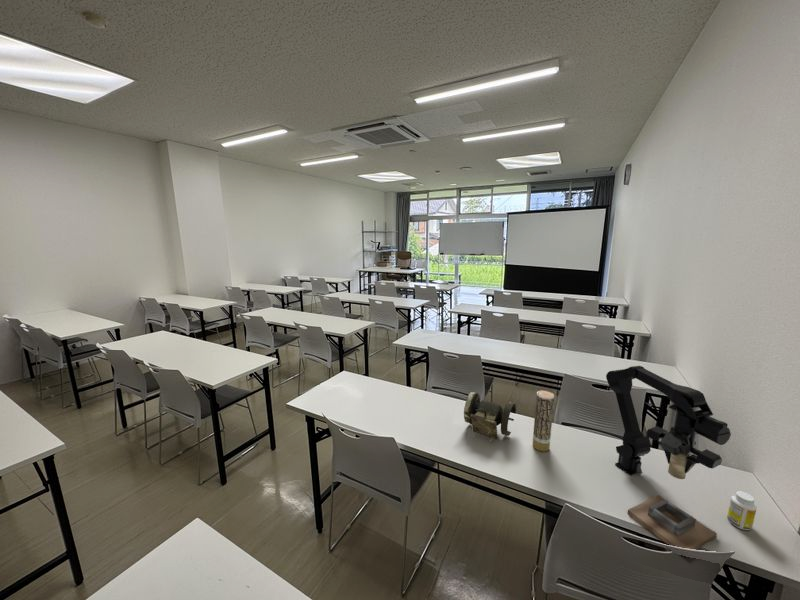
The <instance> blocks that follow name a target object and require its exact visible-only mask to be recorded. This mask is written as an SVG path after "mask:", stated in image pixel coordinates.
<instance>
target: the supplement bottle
mask: <svg viewBox="0 0 800 600" xmlns="http://www.w3.org/2000/svg"><path fill="white" fill-rule="evenodd" d="M729 501H730V502H729V506H728V511H727V514H726V515H727V516H726V518H727V521H728V522H730V524H732V526H735V527H736V528H738V529H741V530H743V531H751V530H752V528H753V526H754V523H755V516H756V512H757V505H756V504H755V498H754V497H753V496H752V495H750V494H749V493H747V492H745V491H740V490H739V491H738V490H737V491H736V492H735V495H732V496H731V497H730V500H729Z"/></svg>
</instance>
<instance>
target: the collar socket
mask: <svg viewBox="0 0 800 600" xmlns="http://www.w3.org/2000/svg"><path fill="white" fill-rule="evenodd" d="M627 514H628V515H629V516H630V517H631V518H632V519H634V520H635V521H637V522H638V523H639V524H641V525H642V526H643V527H644V528H645V529H647V530H648V531H649V532H651V533H652V534H654V535H655V536H656V537H657V538H658V539H660V540H661V541H663V542H664V543H666V544H667V545H668V544H669V545H673V546H677V547H682V548H690V549H697V550H699V549H700V548H702V547H704V546H705V545H706V544H708V543H710V542H712V541H713V540H714V539H716V538H717V536H718V533H716V532H715V531H714V530H712V529H711V528H709V527H708V526H706V525H705V524H703V523H702V522H700V521H699V520H697V519H696V518H695V517H694V516H693V515H690V514H689V513H688V512H685V511H684V510H682V509H681V507H680V508H679V507H678V506H677V505H675V504H674V503H672V502H671V501H669V500H668V499H666V498H664V497H662V496H660V495H658V494H657V495H656V496H653V497H651V498H650V499H647V500H645V501H643V502H642V503H639V504H637V505H635V506H633V507H631V508H629V509H627ZM669 545H668V546H669Z"/></svg>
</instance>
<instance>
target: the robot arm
mask: <svg viewBox="0 0 800 600" xmlns="http://www.w3.org/2000/svg"><path fill="white" fill-rule="evenodd" d="M605 377H606V378H605V379H606V381H607V384H608V386H609V387H610V389H611V390H612V391H613V392H614V394H615V397H616V401H617V405H618V409H619V412H620V416H621V420H622V424H623V429H624V432H623V436H622V439H621V440H622V445H617V446H615V451H616V453H617V454H618V460H617V462H615V464H614V465H615V466H617V467H618V468H619V469H621V470H622V471H624V472H625V473H627V474H629V475H630V476H632V475H633V476H634V475H636V474H638V473H640V472H642V471H643V469H642V464H643V463H642V457H644V456H645V455H647V454H649V453H650V452H651V448H652V444H651V442H650V439H651V440H653V441H656V443H657V444H658V445H660V447H661V449H662V450H663V451H664V455H665V457H666V461H667V464H668V465H669V463H670V457H671V453H672V454H673V455H679V454H684V455H687V454H688V453H690V455H689V457H687V464H686V467H685V473H686V474H687V473H689V472H690V471H691V470H692V469H693V467H694V466H696V464H698V465H699V464H701V465H703V466H705V467H706V468H708V469H715V468H717V467H719V466H720V465H722V462H723V458H722V457H721V454H718V453H715V452H713V451H711V450H709V449H704V450H701V449H699V448H696V447H694V446H696V444H697V441H696V436H697V435H699V436H702V437H703V438H706V439H707V440H709V441H712V442H714V444H715V443H716V444H717V445H720V446H723V445H725V444H726V443H728V441H729V440H730V438H731V434H732V432H731V430H730V429H731V428H729V427H728V423H726V422H725V421H722V420H718V419H717V418H714V417H712V416H714V413H713V411H712V410H711V408H710V405H709V404H708V402H707V400H706V397H705V394H704V393H703V392H701V391H700V390H698V389H695V388H692V387H689V386H684V385H680V384H676V383H674V382H673V381H669V380H668V379H666V378H664V377H662V376H660V375H658V374H656V373H654V372H652V371H650V370H648V369H647V368H645V367H643V366H642V365H633V366H629V367H627V368H624V369H623V368H622V369H615V370H610V371H607V373H606V374H605ZM635 379H636V380H639V381H640V382H642V383H644V384H645V385H647V386H649V387H650V388H652V389H654V390H656V391H658V392H660V393H662V394H664V396H667V398H668V400H670V402H671V403H673V404H671V405H669V406H668V408H669V409H671V410H673V411H675V414H674V420H673V426H672V427H670V429H669V431H668V430H666V429H664V428H662V427H660V426H658V425H656V426H654V427H653V426H652V427H651V428H648V429H647V430H646V433H645V434H643V432H642V431H641V430H640V426H639V422H638V418H637V414H636V410H635V406H634V403H633V399H632V394H631V391H632V387H633V380H635ZM695 409H698V410H695Z"/></svg>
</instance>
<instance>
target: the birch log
mask: <svg viewBox="0 0 800 600" xmlns="http://www.w3.org/2000/svg"><path fill="white" fill-rule="evenodd" d="M554 405H555V394H554V393H553V392H550V391H549V390H538V391H537V392H536V399H535V407H534V408H535V411H534V422H533V423H534V424H533V434H532V446H533V448H534V449H536V450H538V451H539V452H547V451H549V449H550V443H551V436H552V425H553V416H554V415H553V414H554Z"/></svg>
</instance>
